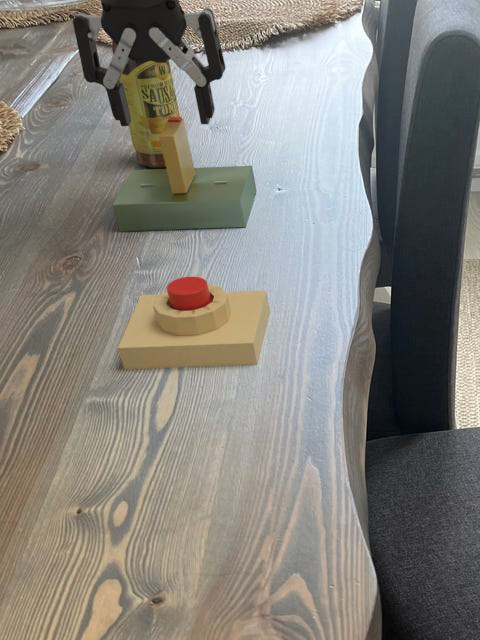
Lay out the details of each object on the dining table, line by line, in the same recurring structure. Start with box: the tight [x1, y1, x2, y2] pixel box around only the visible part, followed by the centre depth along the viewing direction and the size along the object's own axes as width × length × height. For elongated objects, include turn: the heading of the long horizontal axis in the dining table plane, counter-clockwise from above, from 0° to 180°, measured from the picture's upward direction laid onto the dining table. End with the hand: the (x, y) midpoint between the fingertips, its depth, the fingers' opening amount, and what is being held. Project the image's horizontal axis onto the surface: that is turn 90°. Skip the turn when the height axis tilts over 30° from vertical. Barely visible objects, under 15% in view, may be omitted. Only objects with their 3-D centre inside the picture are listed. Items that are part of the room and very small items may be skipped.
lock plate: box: [111, 165, 257, 233], centre depth 114 cm, size 14×10×3 cm
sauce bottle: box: [111, 40, 181, 169], centre depth 119 cm, size 6×6×20 cm
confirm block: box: [117, 283, 271, 370], centre depth 93 cm, size 12×10×4 cm
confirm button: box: [166, 276, 211, 311], centre depth 91 cm, size 4×4×2 cm
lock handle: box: [159, 116, 195, 194], centre depth 111 cm, size 6×2×6 cm, turn 1°
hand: (166, 123), depth 109 cm, fingers open, 8 cm apart
